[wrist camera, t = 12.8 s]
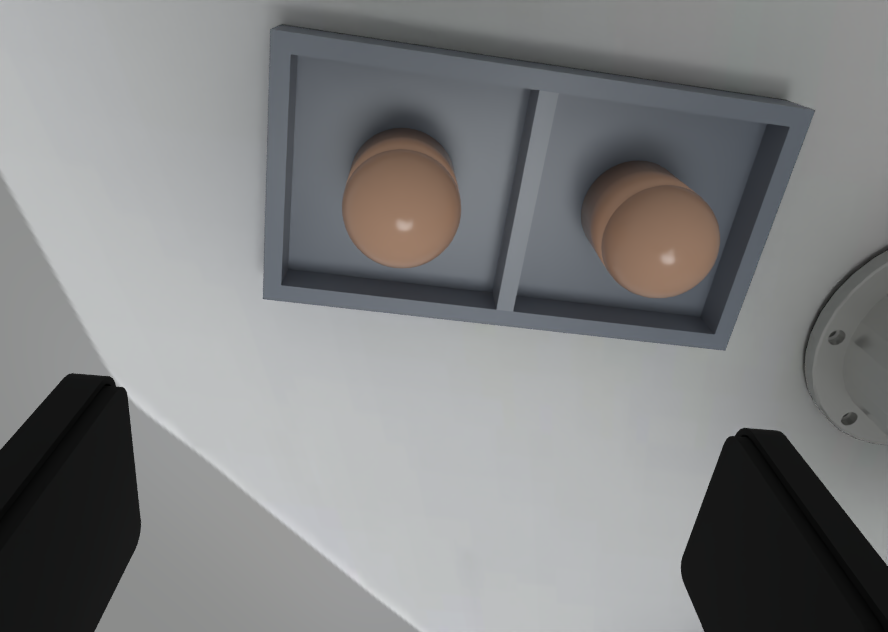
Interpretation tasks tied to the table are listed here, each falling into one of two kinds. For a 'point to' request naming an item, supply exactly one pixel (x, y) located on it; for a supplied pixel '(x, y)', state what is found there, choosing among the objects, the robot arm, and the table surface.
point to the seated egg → (650, 229)
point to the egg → (401, 199)
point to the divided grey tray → (513, 183)
